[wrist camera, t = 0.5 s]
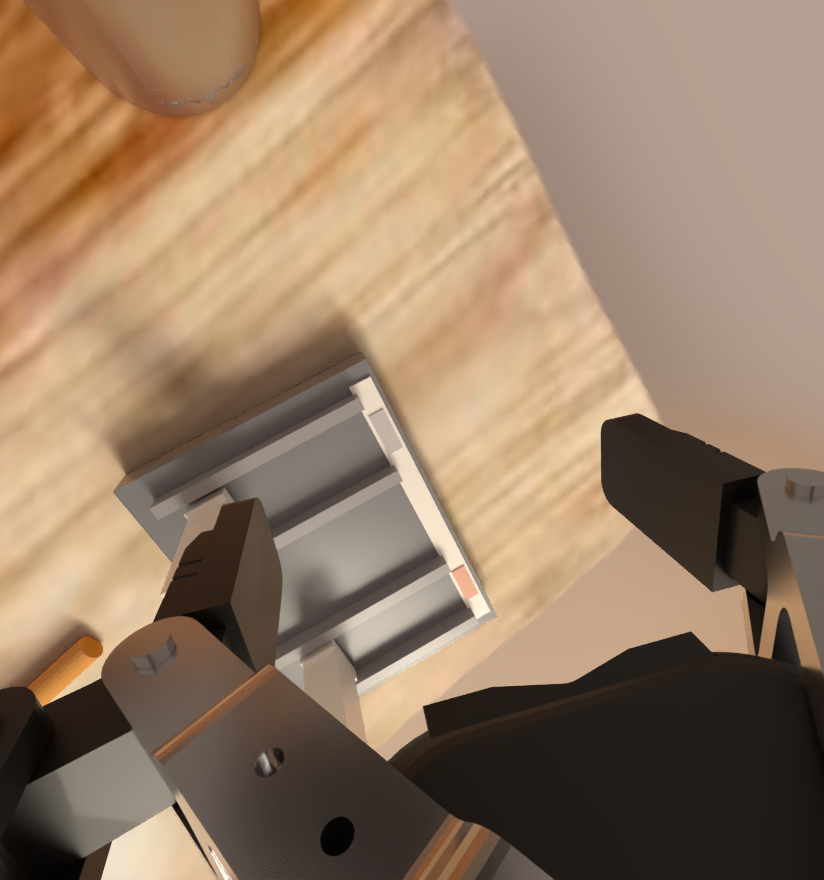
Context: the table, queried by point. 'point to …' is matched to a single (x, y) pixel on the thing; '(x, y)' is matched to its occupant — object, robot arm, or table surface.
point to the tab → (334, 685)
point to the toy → (66, 669)
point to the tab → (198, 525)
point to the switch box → (330, 523)
